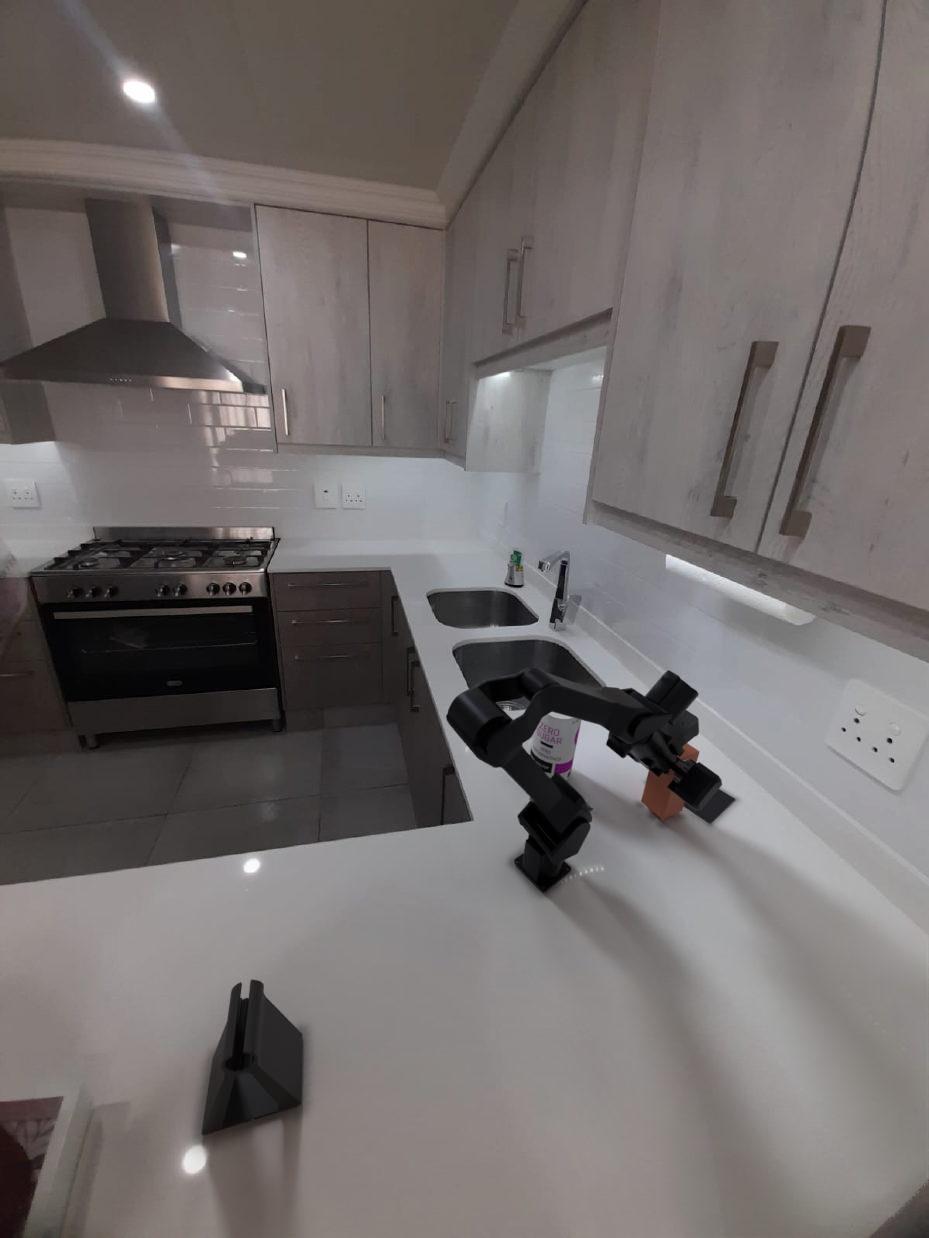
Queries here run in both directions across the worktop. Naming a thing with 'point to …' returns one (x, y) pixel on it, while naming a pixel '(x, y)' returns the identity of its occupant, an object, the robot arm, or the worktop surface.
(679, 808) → the terracotta block
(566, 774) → the supplement can
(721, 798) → the mat
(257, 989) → the phone stand
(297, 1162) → the worktop surface
